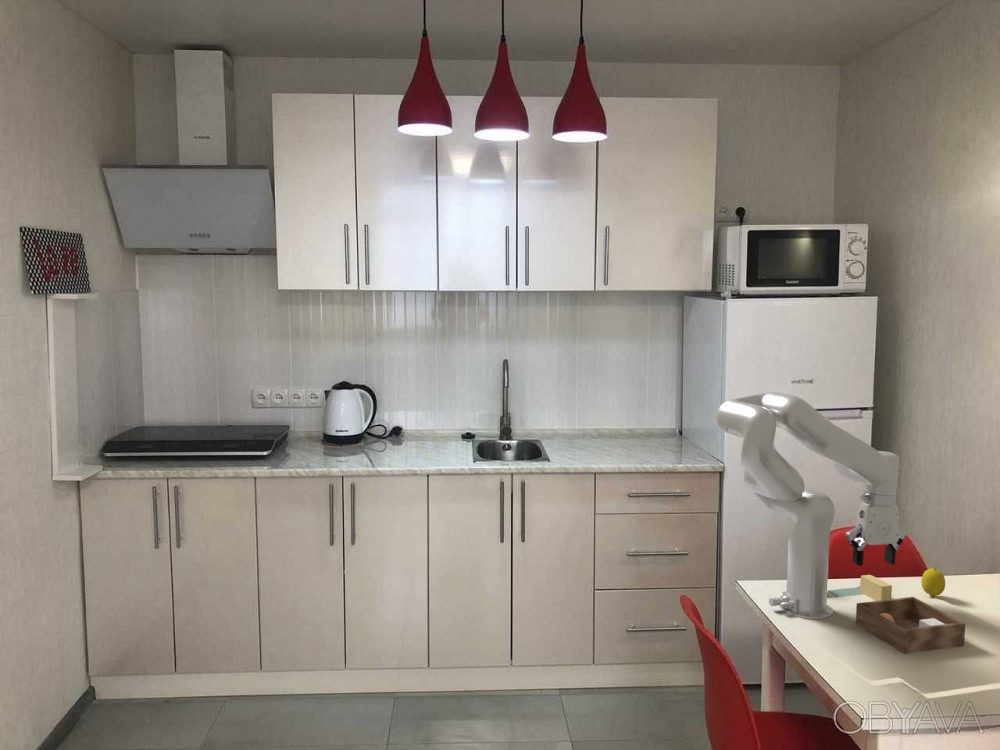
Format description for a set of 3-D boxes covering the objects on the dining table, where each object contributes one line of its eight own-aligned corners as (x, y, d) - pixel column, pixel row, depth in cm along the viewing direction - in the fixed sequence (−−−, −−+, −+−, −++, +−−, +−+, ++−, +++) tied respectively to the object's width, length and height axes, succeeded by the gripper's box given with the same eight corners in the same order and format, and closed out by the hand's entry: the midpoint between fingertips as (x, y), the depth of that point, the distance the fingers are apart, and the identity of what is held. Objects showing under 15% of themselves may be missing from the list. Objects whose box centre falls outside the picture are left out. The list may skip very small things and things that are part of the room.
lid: (869, 618, 197) (870, 595, 197) (827, 593, 213) (828, 572, 212) (925, 611, 201) (926, 589, 200) (880, 588, 217) (881, 567, 216)
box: (903, 657, 175) (905, 631, 175) (855, 627, 191) (856, 603, 190) (963, 648, 179) (965, 623, 178) (911, 620, 194) (913, 596, 194)
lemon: (915, 595, 210) (917, 566, 209) (930, 591, 212) (931, 562, 212) (935, 602, 205) (936, 572, 204) (949, 598, 207) (950, 569, 207)
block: (931, 643, 180) (932, 627, 179) (918, 636, 184) (919, 619, 183) (946, 641, 181) (947, 625, 180) (932, 634, 185) (933, 618, 184)
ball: (883, 634, 185) (884, 617, 184) (871, 627, 189) (872, 611, 188) (898, 632, 186) (898, 616, 185) (886, 625, 190) (886, 609, 189)
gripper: (860, 503, 198) (854, 569, 200) (918, 502, 202) (912, 567, 204) (840, 496, 205) (835, 560, 207) (897, 495, 210) (891, 557, 211)
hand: (873, 563), depth 205 cm, fingers open, 9 cm apart
